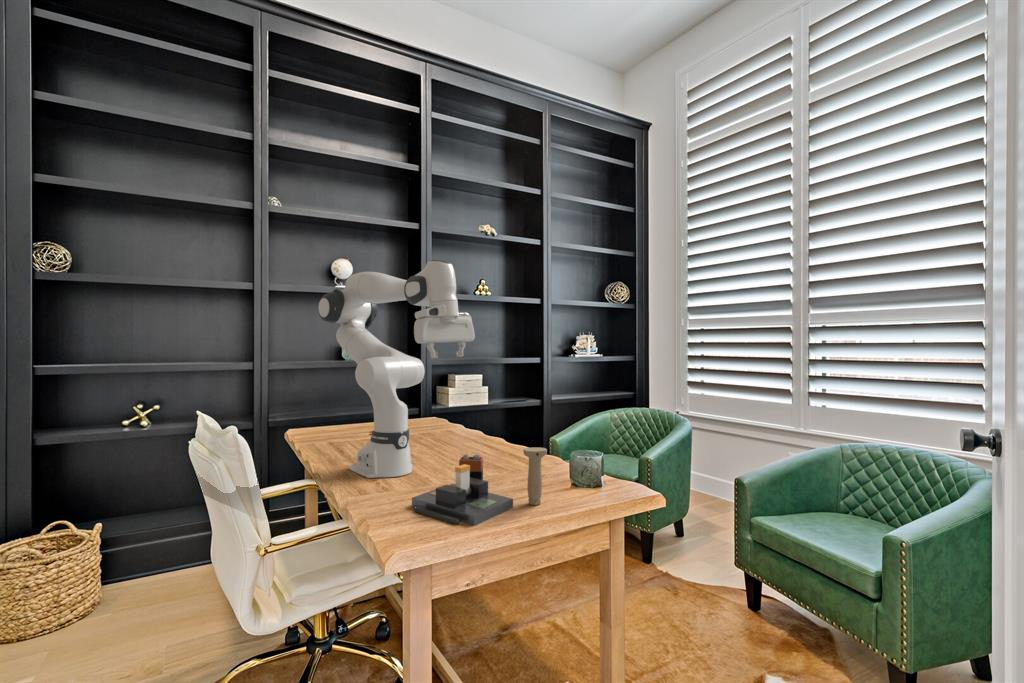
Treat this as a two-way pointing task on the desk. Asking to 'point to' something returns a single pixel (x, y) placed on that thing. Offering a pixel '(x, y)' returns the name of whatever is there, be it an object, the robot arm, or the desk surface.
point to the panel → (464, 509)
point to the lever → (463, 477)
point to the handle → (534, 473)
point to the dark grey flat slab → (436, 515)
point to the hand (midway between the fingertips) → (447, 357)
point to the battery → (473, 465)
